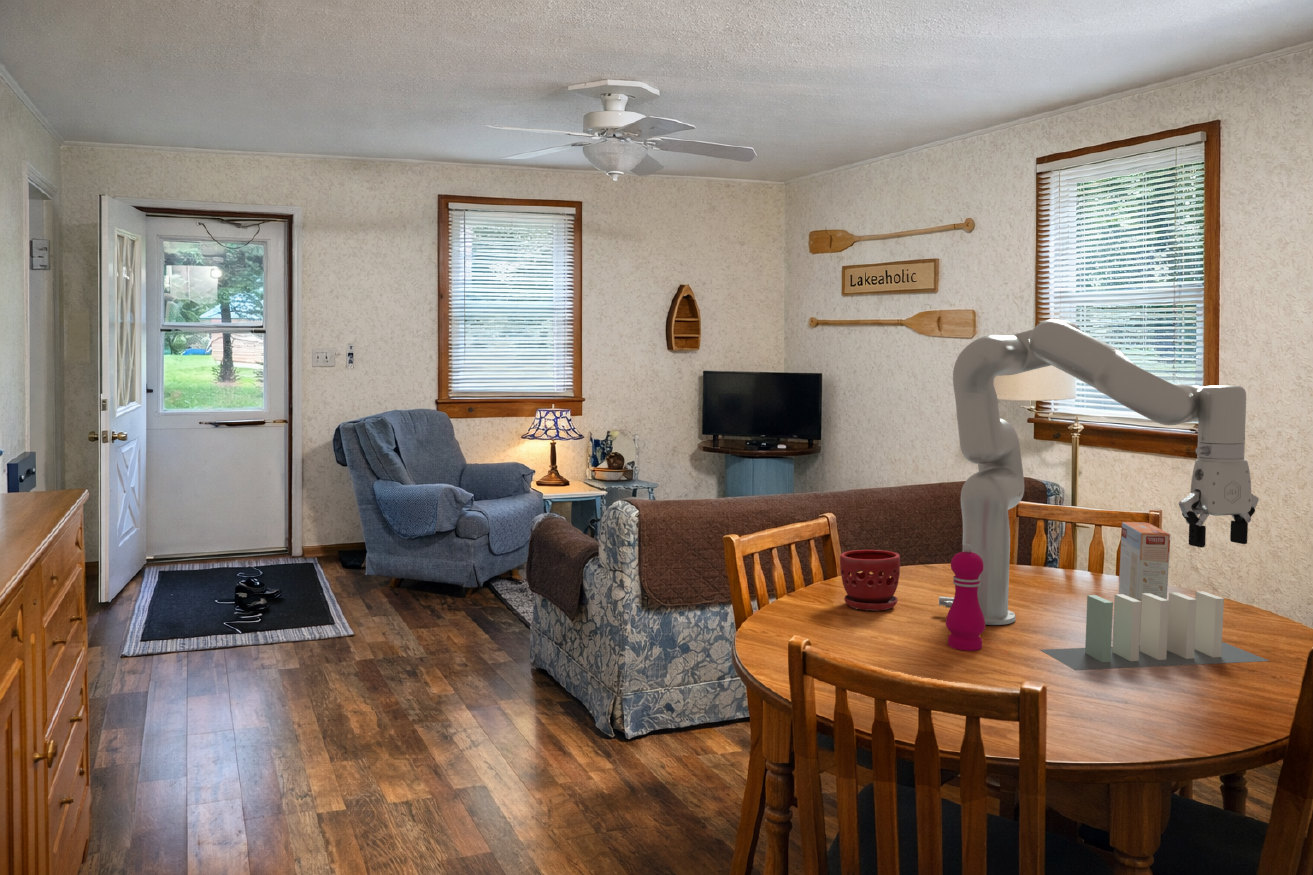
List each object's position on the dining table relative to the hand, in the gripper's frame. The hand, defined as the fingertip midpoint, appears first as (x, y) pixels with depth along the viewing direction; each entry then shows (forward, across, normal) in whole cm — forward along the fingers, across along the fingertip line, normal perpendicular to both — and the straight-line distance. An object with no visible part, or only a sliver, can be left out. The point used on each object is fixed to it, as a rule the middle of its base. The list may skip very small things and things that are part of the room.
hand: (1217, 544), depth 181 cm
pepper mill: (+21, -41, +19) cm, 50 cm away
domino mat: (+21, -12, +2) cm, 24 cm away
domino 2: (+20, -12, +2) cm, 24 cm away
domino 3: (+20, -6, +2) cm, 22 cm away
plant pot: (+20, -44, +51) cm, 70 cm away
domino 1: (+20, -17, +3) cm, 27 cm away
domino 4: (+20, -1, +1) cm, 21 cm away
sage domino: (+20, -23, +4) cm, 31 cm away
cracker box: (+21, +2, +20) cm, 29 cm away
